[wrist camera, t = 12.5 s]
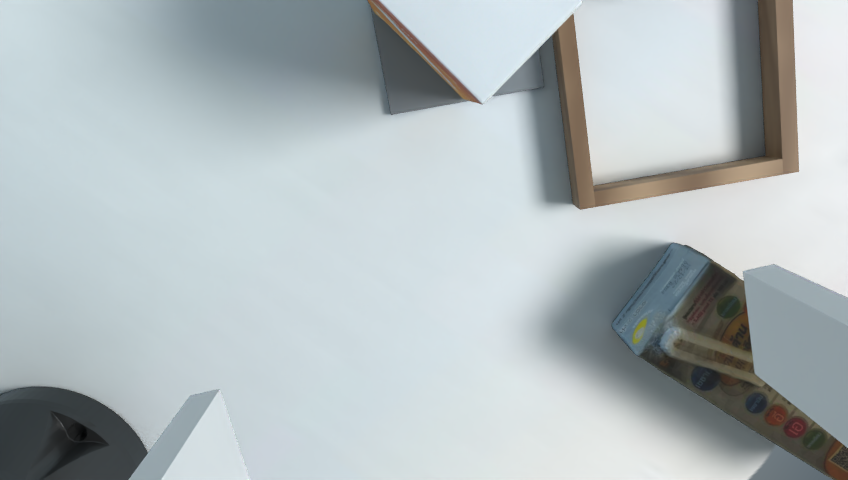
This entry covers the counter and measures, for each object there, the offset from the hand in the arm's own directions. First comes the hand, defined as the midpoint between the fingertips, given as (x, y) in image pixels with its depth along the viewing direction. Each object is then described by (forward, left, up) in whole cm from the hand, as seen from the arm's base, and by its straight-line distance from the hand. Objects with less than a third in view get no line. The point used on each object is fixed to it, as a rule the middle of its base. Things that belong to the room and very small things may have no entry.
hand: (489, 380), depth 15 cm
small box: (+2, +11, -27) cm, 29 cm away
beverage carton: (+19, -15, -28) cm, 37 cm away
